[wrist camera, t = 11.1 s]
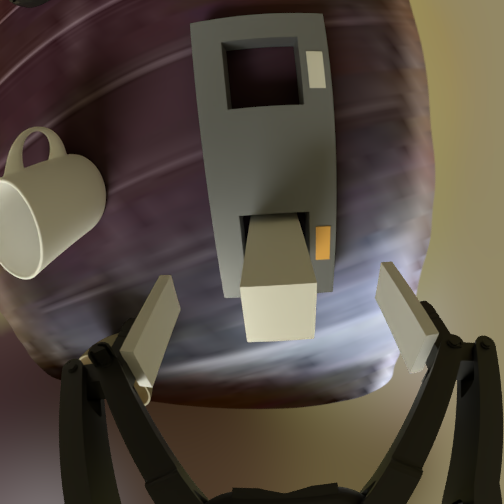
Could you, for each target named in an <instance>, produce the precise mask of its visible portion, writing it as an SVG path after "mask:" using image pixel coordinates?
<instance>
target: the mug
mask: <svg viewBox="0 0 504 504" xmlns="http://www.w3.org/2000/svg"><path fill="white" fill-rule="evenodd" d="M35 131H40V132H42V133H44V134H45V135H46V136H47V138H48V140H49V143H50V154H49V159H48V160H46V161H43V162H40V163H37V164H35V165H32V166H29V167H26V168H24V166H23V160H22V149H23V145H24V142H25V140H26V138H27V137H28V136H29V134H31V133H32V132H35ZM105 203H106V189H105V184H104V181H103V178H102V176H101V174H100V172H99V170H98V169H97V167H96V166H95V165H94V164H93V163H92V162H91V161H90V160H89V159H87V158H85V157H84V156H81V155H77V154H67V153H66V150H65V147H64V145H63V142H62V140H61V139H60V137H59V136H58V135H57V134H56V133H55V132H54V131H52V130H51V129H48V128H46V127H32V128H29V129H27V130H25V131H24V132H22V133H21V134H20V135H19V136H18V137H17V138H16V140H15V141H14V143H13V145H12V147H11V149H10V151H9V154H8V158H7V162H6V167H5V172H4V176H3V177H1V178H0V264H1V265H2V266H3V267H4V268H5V269H6V270H7V271H8V272H9V273H11V274H12V275H14V276H15V277H18V278H20V279H31V278H33V277H35V276H36V275H37V274H38V273H39V272H40V271H41V270H43V269H44V268H45V267H46V266H47V265H48V264H49V263H51V262H52V261H53V260H54V259H55V258H56V257H57V256H59V255H60V254H61V253H62V252H63V251H65V250H66V249H67V248H68V247H69V246H71V245H72V244H73V243H74V242H76V241H77V240H78V239H79V238H81V237H82V236H83V235H84V234H86V233H87V232H88V231H89V230H91V229H92V228H93V227H94V226H95V225H96V224H97V223H98V221H99V220H100V218H101V216H102V215H103V212H104V208H105Z"/></svg>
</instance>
